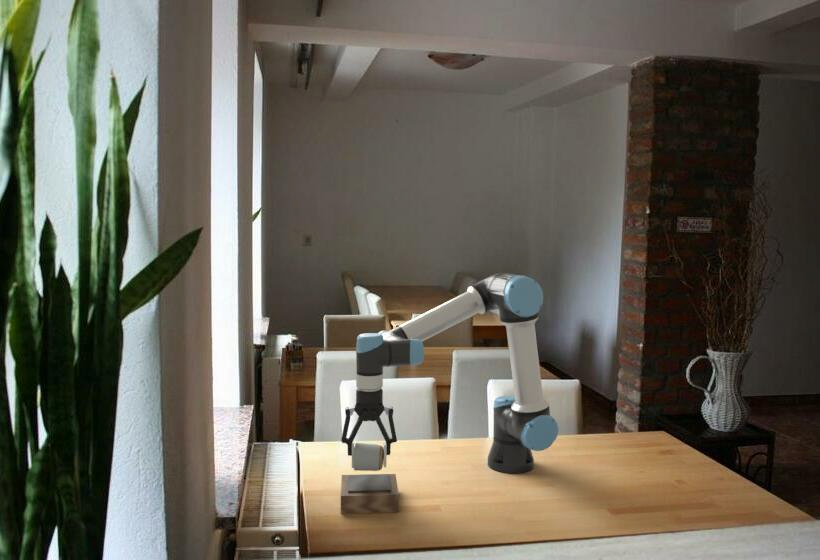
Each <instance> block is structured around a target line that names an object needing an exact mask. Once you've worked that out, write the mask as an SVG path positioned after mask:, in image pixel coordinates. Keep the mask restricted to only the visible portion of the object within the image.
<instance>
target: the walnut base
mask: <svg viewBox="0 0 820 560" xmlns="http://www.w3.org/2000/svg"><path fill="white" fill-rule="evenodd" d="M340 480H341V483H340V484H341V485H340V514H368V513H369V514H375V513H376V514H377V513H378V512H380V513H399V512H400V511H399V510H400V509H399V508H400V507H399V506H400V503H399V502H400V501H399V500H400V498H399V497H400V494H399V488H398V481H397V475H396V473H375V474H374V473H372V474H369V473H366V474H364V473H363V474H341V479H340Z"/></svg>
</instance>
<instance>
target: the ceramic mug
mask: <svg viewBox="0 0 820 560" xmlns="http://www.w3.org/2000/svg"><path fill="white" fill-rule="evenodd" d="M383 452H384V446H382V445H379V444H371V443H363V442H356V443H354V460H353V468H352V469H353V471H361V472H363V471H367V472H368V471H369V472H370V471H371V472H377V471H381V470H382V469H383V468H384V465H383Z"/></svg>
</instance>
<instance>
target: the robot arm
mask: <svg viewBox="0 0 820 560" xmlns="http://www.w3.org/2000/svg"><path fill="white" fill-rule="evenodd" d="M543 303H544V292H543V290H542V287H541V286H540V285H539V283H538V281H536V280H535V279H533V278H532V277H528V276H526V275H522V274H514V273H509V272H499V273H495V274H492V275H490V276H488V277H485V278H483V279H482V280H480V281H477V282H476V283H474V284H472V285H470V286H467V290H466V291H465V292H464V293H461V294H459V295H457V296H454V298H451V299H450V300H448V301H445V302H444V303H442V304H440V305H437V306H436V307H433V308H431V309H429V310H428V311H426V312H424V313H422V314H420V315H418V316H417V317H416V316H415V318H412V319H410V320H407V322H405V323H403V324H400V325H399V326H396V327H394V328H392V329H390V330H387V329H386V330H385V329H384V330H380V331H379V332H377V333H375V332H366V333H360V334H359V335H358V336H357V338H356V347H355V348H356V349H355V352H356V354H355V356H356V357H355V358H356V359H355V360H356V363H355V364H356V371H355V372H356V373H355V375H356V376H355V379H356V380H355V381H356V382H355V387H356V388H357V389H356V391H355V396H356V397H355V405H354V406H352V407H349V406H346V407H345V410H344V412H345V421H344V424H343V429H342V435H341V443H342V444H345V445H347V456H349V457H350V456H351V468H352V469H354V468H353V460H354V448H355V442H354V440H355V437H356V436H357V434H358V432H359V430H360V427H361V426H362V424H363V422H376V424H377V426H378V428H379V431H380V433H381V435H382V437H383V439H384V442H383V450H384V452H383V468H387V456H390V455H391V449H392V448H391V447H392V446H391V445H392V444H393V443H397V441H398V437H397V433H396V429H395V428H396V427H395V423H394V418H393V415H394V407H393V406H389V407H388V406H385V405H384V404H383V403H384V402H383V400H384V395H383V394H384V393H383V386H384V385H383V384H384V381H383V380H384V367H385V368H389V367H403V366H405V367H406V366H408V367H412V366H417V365H421V364H422V363H423V361H424V358H425V348H424V347H425V346H424V343H423V342H424V341H426V340H428V339H430V338H432V337H434V336H436V335H438V334H440V333H442V332H444V331H445V330H447V329H449V328H451V327H453V326H455V325H458V324H459V323H461V322H463V321H465V320H467V319H469V318H471V317H472V316H474V315H477V314H480V315H483V314H485V313H487V312H491V311H493V310H498V312H499V313H498V314H499V319H500V320H499V321H500V323H501V324H503V325H504V326H505V329H506V336H507V338H506V339H507V346H508V353H509V360H510V368H511V376H512V378H511V379H512V383H513V394H514V395H513V394H512V395H510V394H509V395H501V396H498V397H496V398H495V399H494V401H493V402H494V403H493V407H492V408H493V436H492V437H493V442H492V445H491V447H490V449H489V453H488V455H487V467H489V468H490V469H492V470H494V471H496V472H500V473H506V474H507V473H508V474H521V473H526V472H529V471H532V470H533V469H534V467H535V459H534V455H533V452H532V451H535V452H542V451H545V450H547V449H549V448H550V447H552V445H553V443H554V442H555V441H556V439H557V437H558V435H559V425H558V423H557V421H556V419H555V418H554V417H553V416H552V415H551V410H550V404H549V401H548V400H546V398H544V394H543V393H544V392H543V385H542V377H541V367H540V360H539V359H540V358H539V351H538V343H537V342H538V341H537V334H536V326H535V324H536V322H537V320H539V316H540V315H539V311H540V309H541V307H542V306H543ZM354 412H355V413H356V414H357V416H358V418H357V420H356V422H355V425H354V426H353V428H352V430H351V432H350V434H349V437H347V436H348V432H349V426H350V421H351V416H353V415H354ZM383 412H385V415H386V416H387V417H388V424H389V428H390V433H391V437H390V436H389V434H388V432H387V430H386V428H385V425H384V423H383V421H382V419H381V415H382V414H383Z"/></svg>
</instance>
